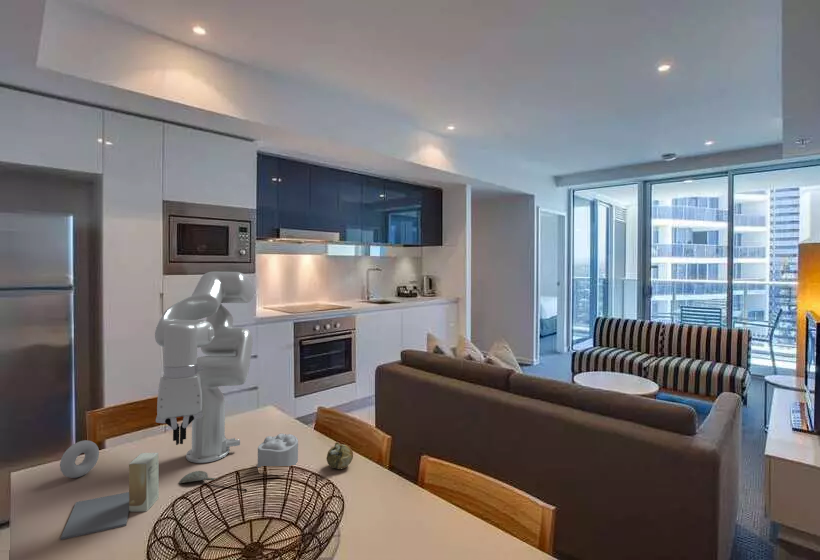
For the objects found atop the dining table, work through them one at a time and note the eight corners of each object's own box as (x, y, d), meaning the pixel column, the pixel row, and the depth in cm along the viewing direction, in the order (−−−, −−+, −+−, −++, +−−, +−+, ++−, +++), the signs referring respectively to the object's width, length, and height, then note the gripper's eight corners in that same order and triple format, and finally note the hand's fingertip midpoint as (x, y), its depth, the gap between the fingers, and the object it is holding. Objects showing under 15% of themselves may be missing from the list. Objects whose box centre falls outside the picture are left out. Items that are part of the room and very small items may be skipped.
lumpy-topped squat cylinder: (252, 473, 127) (252, 444, 126) (274, 454, 139) (275, 428, 139) (285, 477, 125) (285, 447, 124) (304, 458, 137) (305, 431, 137)
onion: (355, 470, 129) (355, 444, 129) (328, 474, 127) (329, 447, 126) (350, 460, 136) (350, 435, 136) (324, 463, 134) (325, 437, 134)
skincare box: (141, 498, 111) (141, 452, 111) (159, 498, 112) (159, 451, 112) (127, 512, 105) (127, 463, 105) (146, 512, 105) (146, 463, 105)
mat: (132, 493, 114) (132, 491, 114) (126, 525, 100) (126, 523, 100) (76, 503, 108) (76, 502, 108) (60, 539, 94) (60, 537, 94)
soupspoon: (191, 476, 126) (173, 488, 120) (191, 465, 126) (172, 476, 120) (256, 485, 120) (241, 498, 114) (255, 474, 120) (240, 486, 113)
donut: (65, 485, 117) (65, 449, 117) (56, 483, 118) (56, 447, 118) (102, 469, 127) (102, 435, 126) (93, 467, 128) (93, 434, 128)
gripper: (211, 366, 118) (210, 433, 118) (147, 371, 111) (146, 442, 111) (213, 371, 111) (212, 443, 111) (145, 377, 104) (144, 453, 104)
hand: (179, 442), depth 111 cm, fingers closed
